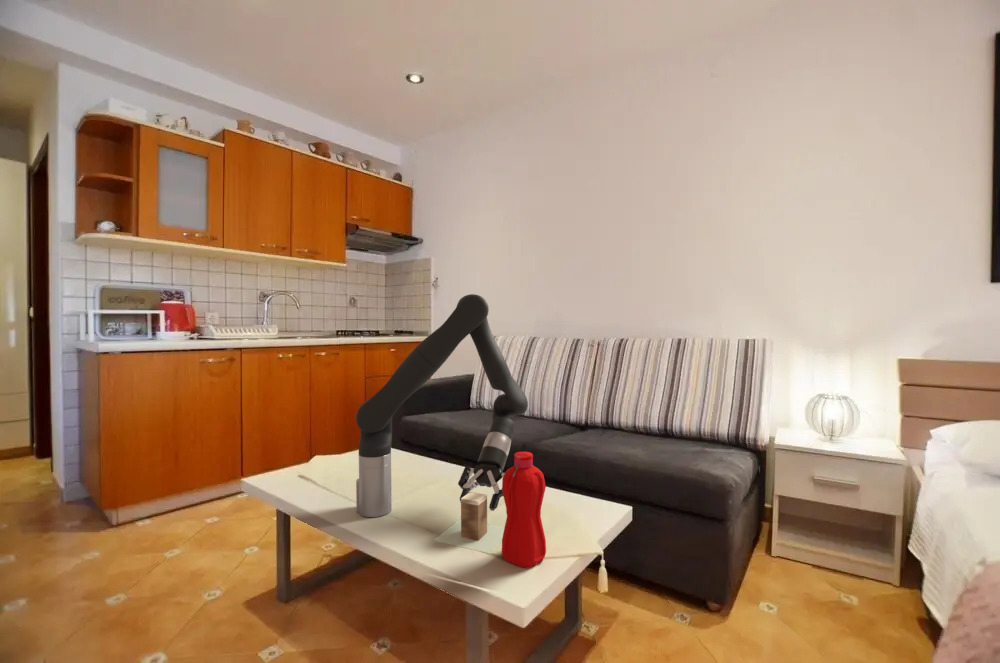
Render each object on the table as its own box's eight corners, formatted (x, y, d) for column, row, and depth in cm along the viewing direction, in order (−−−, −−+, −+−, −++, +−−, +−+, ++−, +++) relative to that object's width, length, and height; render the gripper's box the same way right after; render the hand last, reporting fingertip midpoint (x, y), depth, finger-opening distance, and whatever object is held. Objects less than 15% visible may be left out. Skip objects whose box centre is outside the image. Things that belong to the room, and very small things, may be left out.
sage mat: (433, 542, 116) (433, 540, 116) (460, 520, 128) (460, 518, 128) (490, 555, 109) (490, 553, 109) (513, 530, 122) (513, 529, 122)
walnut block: (461, 536, 118) (460, 498, 117) (470, 528, 122) (470, 491, 122) (478, 540, 115) (478, 501, 115) (487, 532, 120) (487, 494, 120)
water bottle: (491, 563, 106) (490, 455, 105) (520, 544, 114) (519, 445, 114) (523, 577, 100) (523, 463, 99) (551, 556, 108) (550, 452, 108)
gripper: (468, 442, 131) (448, 496, 120) (514, 447, 125) (497, 504, 114) (477, 455, 136) (458, 508, 125) (521, 461, 130) (505, 517, 119)
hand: (476, 506), depth 120 cm, fingers open, 8 cm apart
